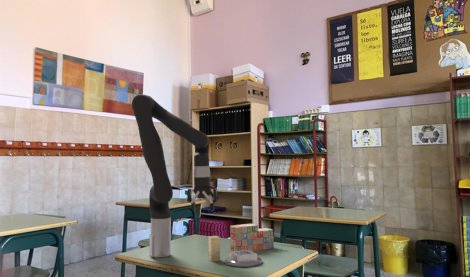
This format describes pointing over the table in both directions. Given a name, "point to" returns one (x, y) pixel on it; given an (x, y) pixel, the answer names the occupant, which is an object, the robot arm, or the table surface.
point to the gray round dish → (243, 259)
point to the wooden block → (213, 248)
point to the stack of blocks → (250, 238)
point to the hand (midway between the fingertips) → (202, 211)
